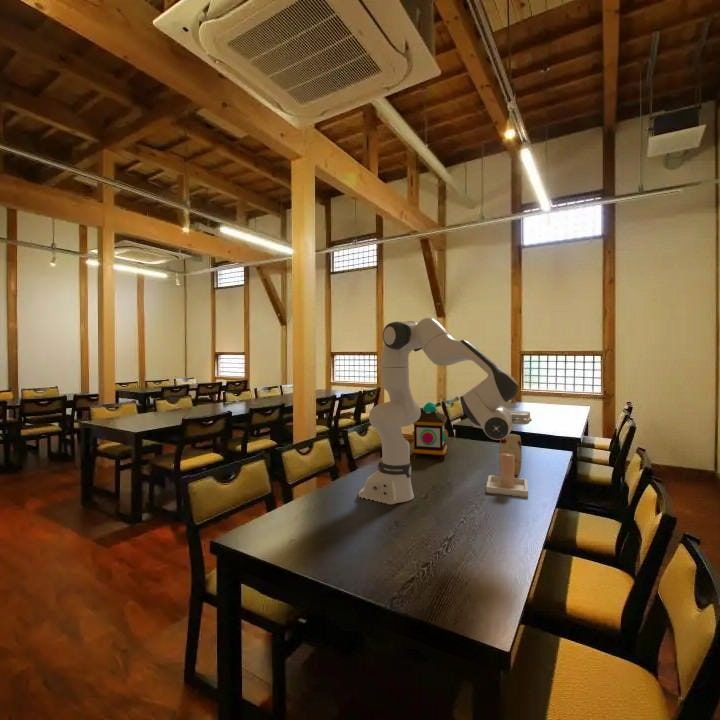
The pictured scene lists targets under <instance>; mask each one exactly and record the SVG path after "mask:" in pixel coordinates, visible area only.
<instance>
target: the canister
mask: <svg viewBox="0 0 720 720" xmlns="http://www.w3.org/2000/svg"><path fill="white" fill-rule="evenodd" d="M500 476H501V487H502V488H511V489H514V478H515V477H514V454H510V453H502V454H501V473H500Z"/></svg>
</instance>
